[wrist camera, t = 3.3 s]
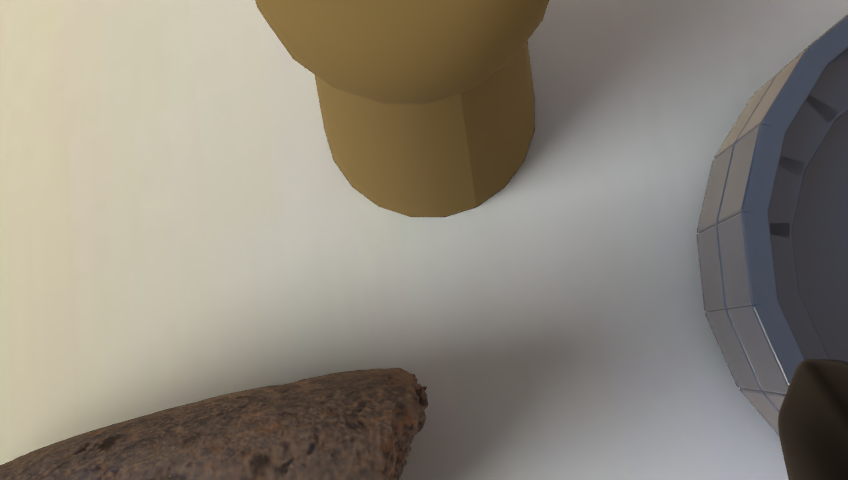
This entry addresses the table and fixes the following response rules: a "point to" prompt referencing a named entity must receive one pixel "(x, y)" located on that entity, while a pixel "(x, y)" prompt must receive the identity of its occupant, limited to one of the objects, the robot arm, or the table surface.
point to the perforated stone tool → (253, 435)
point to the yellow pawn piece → (418, 93)
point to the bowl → (781, 226)
